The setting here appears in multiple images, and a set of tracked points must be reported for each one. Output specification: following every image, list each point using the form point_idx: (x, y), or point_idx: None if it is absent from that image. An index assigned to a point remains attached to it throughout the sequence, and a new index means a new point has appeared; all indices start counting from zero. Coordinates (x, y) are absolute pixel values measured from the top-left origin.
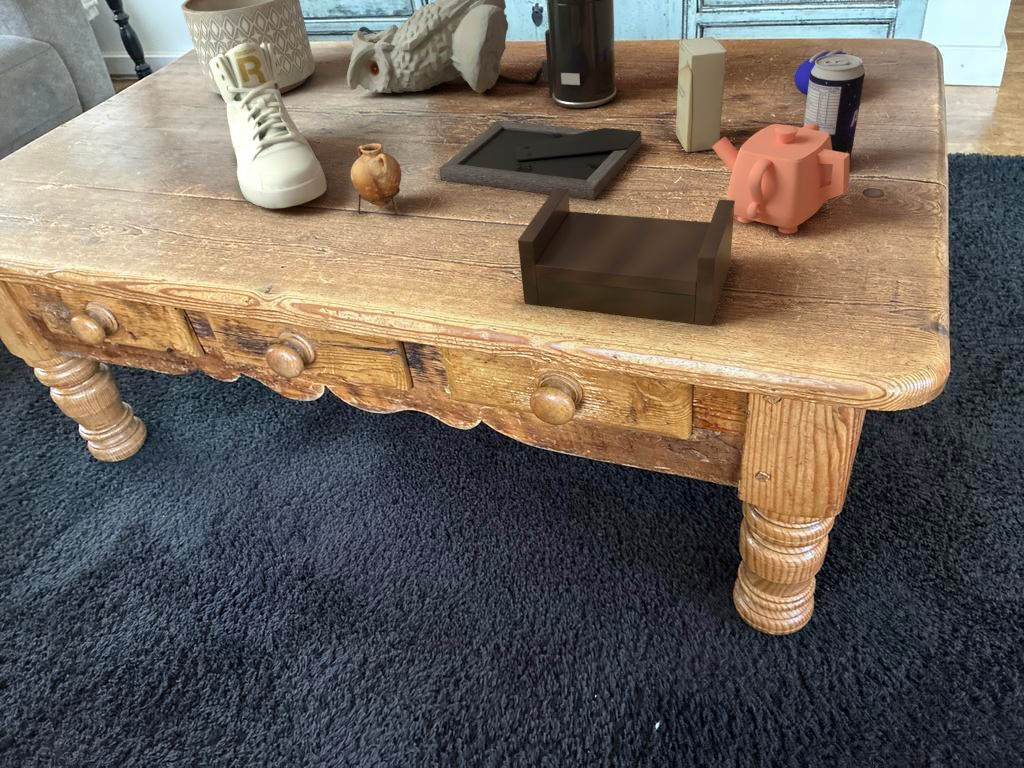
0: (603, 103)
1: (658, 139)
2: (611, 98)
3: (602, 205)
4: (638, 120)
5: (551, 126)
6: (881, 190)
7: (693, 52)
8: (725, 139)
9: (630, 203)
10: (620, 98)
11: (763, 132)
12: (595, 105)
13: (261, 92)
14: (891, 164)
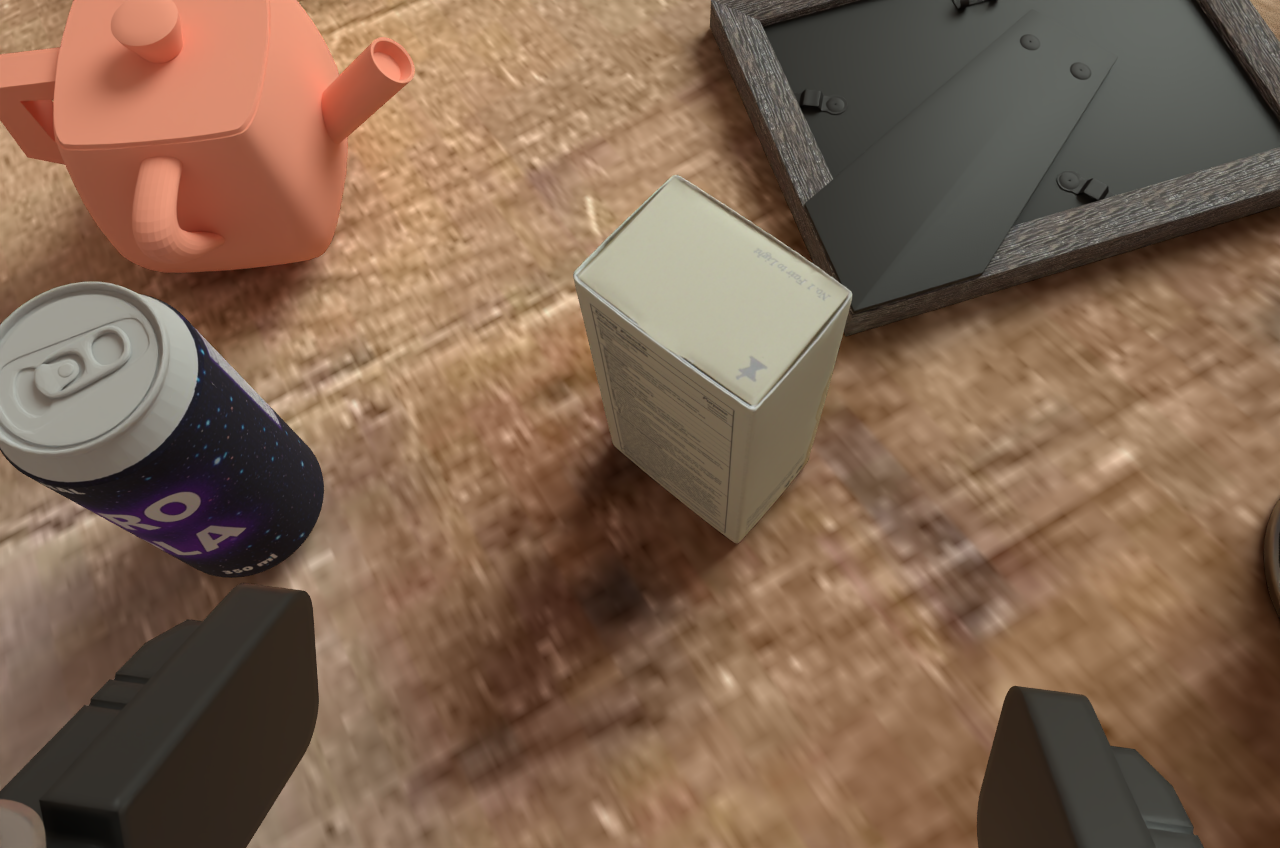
0: (1264, 551)
1: (837, 407)
2: (1278, 602)
3: (672, 21)
4: (1024, 506)
5: (1165, 217)
6: None
7: (693, 205)
8: (366, 52)
9: (617, 61)
10: (1277, 662)
11: (245, 65)
12: (1271, 518)
13: None
14: (63, 622)
